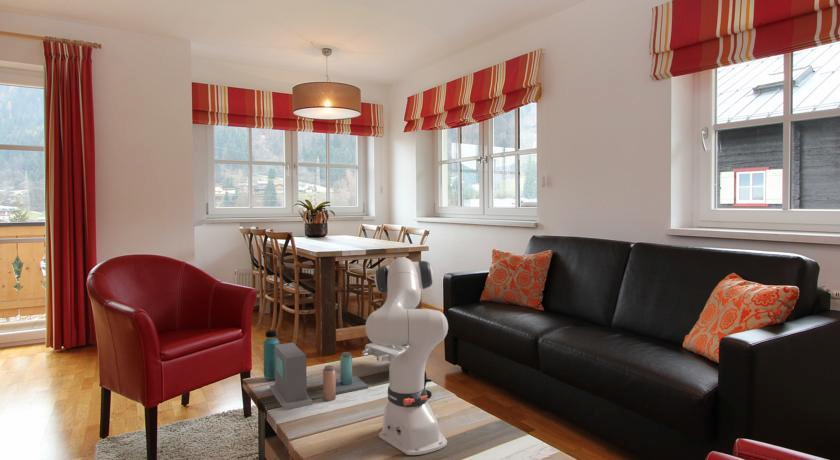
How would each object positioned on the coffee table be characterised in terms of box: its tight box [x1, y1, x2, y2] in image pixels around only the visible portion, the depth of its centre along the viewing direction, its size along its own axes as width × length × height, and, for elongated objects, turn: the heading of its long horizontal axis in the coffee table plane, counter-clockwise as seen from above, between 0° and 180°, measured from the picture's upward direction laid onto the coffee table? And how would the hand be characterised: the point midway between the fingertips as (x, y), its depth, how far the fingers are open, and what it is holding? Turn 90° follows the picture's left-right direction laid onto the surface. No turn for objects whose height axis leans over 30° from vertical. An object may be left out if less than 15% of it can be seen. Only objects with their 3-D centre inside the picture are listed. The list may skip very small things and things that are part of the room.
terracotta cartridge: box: [322, 364, 337, 402], centre depth 182 cm, size 4×4×12 cm
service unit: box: [269, 342, 314, 411], centre depth 184 cm, size 22×10×18 cm, turn 29°
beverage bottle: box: [262, 329, 280, 379], centre depth 201 cm, size 6×7×20 cm
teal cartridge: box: [339, 351, 353, 385], centre depth 195 cm, size 4×4×12 cm
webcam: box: [424, 370, 433, 399], centre depth 185 cm, size 8×8×10 cm
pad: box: [336, 374, 369, 396], centre depth 195 cm, size 13×13×1 cm
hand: (370, 356), depth 203 cm, fingers open, 8 cm apart
